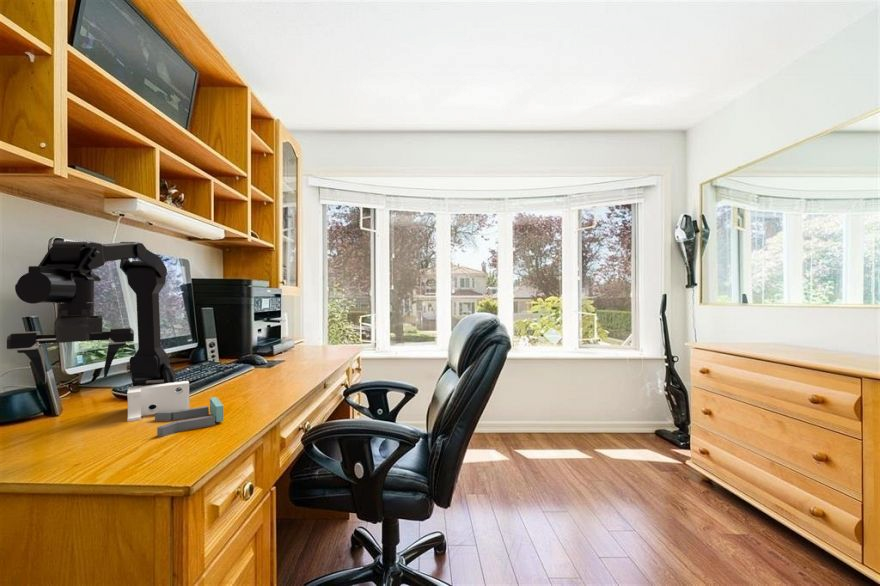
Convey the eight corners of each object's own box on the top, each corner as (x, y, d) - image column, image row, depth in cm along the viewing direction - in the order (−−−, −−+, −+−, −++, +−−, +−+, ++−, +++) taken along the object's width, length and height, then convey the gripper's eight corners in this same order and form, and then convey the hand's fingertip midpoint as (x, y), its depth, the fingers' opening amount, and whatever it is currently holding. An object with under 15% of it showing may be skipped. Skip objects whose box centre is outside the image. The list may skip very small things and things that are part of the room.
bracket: (128, 415, 103) (127, 422, 97) (128, 387, 103) (127, 393, 97) (188, 406, 111) (190, 412, 105) (188, 380, 111) (190, 385, 105)
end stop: (209, 411, 104) (209, 397, 104) (216, 410, 105) (216, 397, 105) (216, 422, 96) (216, 406, 96) (223, 420, 97) (223, 405, 97)
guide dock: (154, 420, 99) (154, 411, 99) (206, 411, 106) (206, 404, 106) (157, 438, 87) (157, 428, 87) (216, 427, 93) (216, 418, 93)
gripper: (0, 304, 70) (0, 394, 70) (134, 302, 82) (135, 379, 82) (12, 303, 79) (12, 384, 79) (132, 302, 91) (133, 372, 90)
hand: (75, 379), depth 82 cm, fingers open, 9 cm apart
